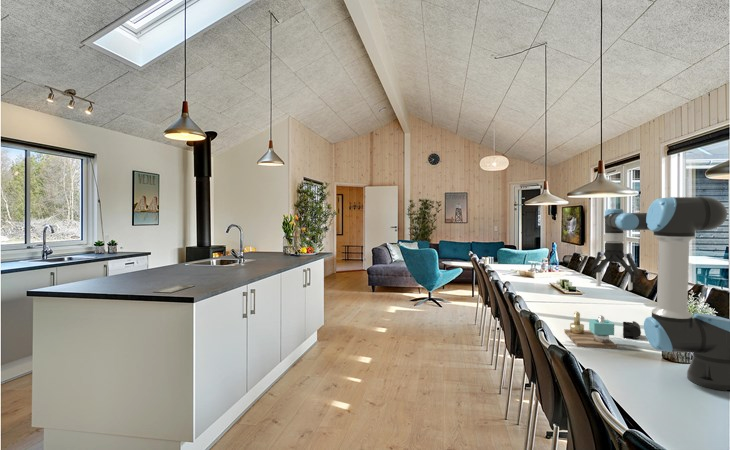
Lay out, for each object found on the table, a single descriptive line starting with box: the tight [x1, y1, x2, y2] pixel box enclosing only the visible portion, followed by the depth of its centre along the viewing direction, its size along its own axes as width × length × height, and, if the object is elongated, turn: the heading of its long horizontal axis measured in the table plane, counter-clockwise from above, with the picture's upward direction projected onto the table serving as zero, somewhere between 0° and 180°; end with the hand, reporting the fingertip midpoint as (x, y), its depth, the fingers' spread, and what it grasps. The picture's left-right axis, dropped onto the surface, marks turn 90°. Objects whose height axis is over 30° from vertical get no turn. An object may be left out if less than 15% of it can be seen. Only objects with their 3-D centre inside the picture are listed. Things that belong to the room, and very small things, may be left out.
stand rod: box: [594, 315, 610, 343], centre depth 190 cm, size 6×6×12 cm
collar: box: [588, 318, 615, 336], centre depth 190 cm, size 8×8×5 cm
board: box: [563, 328, 618, 350], centre depth 197 cm, size 24×16×2 cm, turn 167°
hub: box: [569, 311, 585, 334], centre depth 204 cm, size 6×6×10 cm
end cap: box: [622, 320, 642, 340], centre depth 201 cm, size 10×7×7 cm
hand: (614, 287), depth 194 cm, fingers open, 13 cm apart
